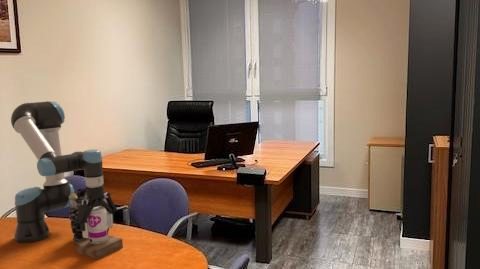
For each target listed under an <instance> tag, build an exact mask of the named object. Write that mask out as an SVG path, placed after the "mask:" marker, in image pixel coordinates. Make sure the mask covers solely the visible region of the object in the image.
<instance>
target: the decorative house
mask: <svg viewBox="0 0 480 269" xmlns="http://www.w3.org/2000/svg"><path fill="white" fill-rule="evenodd" d="M69 199H70V206H69V211H68V215H69V216H68V218H69V221H70V227H71V230H72V234H73V242H74V243H75V244H76V243H79V242H81V241H84V240H86V239H89V232H88V238H84V237H83V234H82V231H81V227H80V224H79V223H76V218H77V215H78V212H79V209H80V205H81V200H87V195H86V188H84V189H83V188H82V189H81V188H79V189H77V190H76V193H75V192H74V193H72V194H71V195H70V196H69ZM104 201H105V202H106V204H107V205H108V203H107V201H106V199H105V197H104ZM101 206H102V205H101ZM90 207H91V206H90ZM106 211H107V210H106ZM107 213H109V212H108V211H107ZM85 223H87V228H88V220H86V222H85ZM107 224H108V221H107ZM109 231H110V228H109V227H108V232H109Z"/></svg>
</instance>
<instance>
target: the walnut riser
mask: <svg viewBox="0 0 480 269" xmlns="http://www.w3.org/2000/svg"><path fill="white" fill-rule="evenodd" d="M108 237H109V239H108V240H107V242H105V243H102V244H92V243H90V242H89V239H86V240H84V241H81V242H79V243H76V242H75V252H76V253H77V254H80V255H83V256H87V257H89V258H93V259H95V260H99V259H101V258H104V257H106V256H108V255H110V254H112V253H114V252H116V251H118V250H120V249H122V248H124V244H123V243H124V242H123V238H120V237H118V236H113V235H109V234H108Z"/></svg>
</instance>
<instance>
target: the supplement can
mask: <svg viewBox="0 0 480 269" xmlns="http://www.w3.org/2000/svg"><path fill="white" fill-rule="evenodd" d="M87 220H88V232H89V242H90V243H92V244H102V243H105V242H107V240H108V239H109V237H108V235H109V231H108V224H107V211H106V209H105V207H103V206H97V207H94V208H93V209H92V211H91V213H90V215H89V217H88V219H87Z"/></svg>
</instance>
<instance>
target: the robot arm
mask: <svg viewBox="0 0 480 269" xmlns="http://www.w3.org/2000/svg"><path fill="white" fill-rule="evenodd" d="M65 119H66V116H65V111H64V109H63V107H62V106H61V104H60V103H59V102H57V101H49V100H48V101H37V102H24V103H21V104H20V105H18V106H17V107H15V109H14V110H13V112H12V113H11V117H10V123H11V127H12V128H13V129H14V131H15V132H16V133H17V134H20V135H21V137H22V139H23V140H24V142H25V143H26V145H28V147H29V149H30V151H31V152H32V154H34V156H35V158H36V159H37V162H36V169H37V172H38V174H39V175H40V176H42V177H45V182H44V183H43V184H42V186H43V187H42V188H43V189H42V188H41V187H39V186H34V187H28V188H24V189H23V190H20V191H18V192H17V193H16V194H15V196H14V205H15V213H16V214H15V215H16V227H15V228H16V229H15V233H14V241H15V242H16V243H21V244H22V243H24V244H25V243H33V242H38V241H41V240H44V239H46V238H47V237H49V235H50V228H49V226H48V224H47V223H46V220H45V213H49V212H52V211H57V210H63V209H65V208H68V207H70V206H71V205H70V199H69V196H70V195H71V194H72V193H75V189H74V186H73V185H72V184H71V183H70V182H69V180H67V178H65V173H70V172H76V171H81V170H82V171H84V173H83V174H84V185H85V186H86V187H85V189H86V195H87V200H81V205H80V209H79V212H78V215H77V218H76V223H79V224H80V227H81V231H82V234H83V237H84V238H88V228H87V223H85V222H86V220H87V219H88V217H89V215H90V213H91V211H92V209H93V208H94V207H97V206H101V205H102V206H103V207H105V209H106V210H107V211H108V213H107V221H108V227H109V229H113V228H114V214H116V211H118V209H117V206H116V204H115V203H114V201H113V199H112V197H111V193H110V192H107V191H105V185H104V171H103V168H104V167H103V157H102V150H100V149H93V148H92V149H87V150H84V151H74V152H72V153H70V154H65V155H64V154H63V155H62V148H61V140H60V134H59V132H60V130H61V128H62V125H63V124H64V123H65ZM104 198H105V200H106V202H107V204H106V202H105V201H104ZM90 206H91V207H90Z"/></svg>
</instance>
